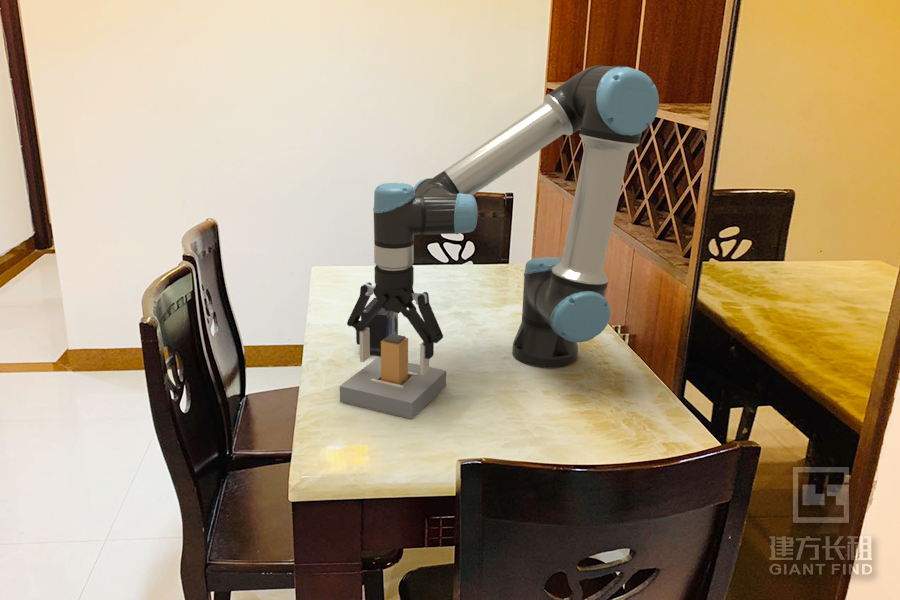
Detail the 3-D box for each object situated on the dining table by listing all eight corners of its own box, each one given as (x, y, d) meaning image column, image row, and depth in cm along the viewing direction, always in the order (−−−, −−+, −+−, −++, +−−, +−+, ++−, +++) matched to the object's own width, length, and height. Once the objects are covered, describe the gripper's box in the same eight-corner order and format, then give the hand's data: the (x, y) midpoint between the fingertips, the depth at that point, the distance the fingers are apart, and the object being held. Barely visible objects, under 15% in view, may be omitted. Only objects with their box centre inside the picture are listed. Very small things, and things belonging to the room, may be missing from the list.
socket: (446, 385, 153) (446, 369, 151) (411, 419, 139) (411, 401, 137) (379, 371, 158) (379, 355, 157) (340, 401, 145) (339, 384, 143)
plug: (407, 391, 150) (408, 336, 145) (398, 399, 146) (398, 343, 142) (390, 387, 151) (390, 332, 147) (381, 395, 148) (380, 339, 143)
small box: (387, 357, 165) (387, 314, 162) (360, 354, 167) (359, 311, 163) (399, 340, 175) (399, 299, 172) (373, 337, 176) (373, 296, 173)
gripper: (461, 269, 138) (458, 370, 145) (348, 251, 147) (350, 347, 154) (445, 279, 131) (442, 385, 139) (328, 261, 141) (331, 361, 148)
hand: (394, 365), depth 146 cm, fingers open, 13 cm apart
